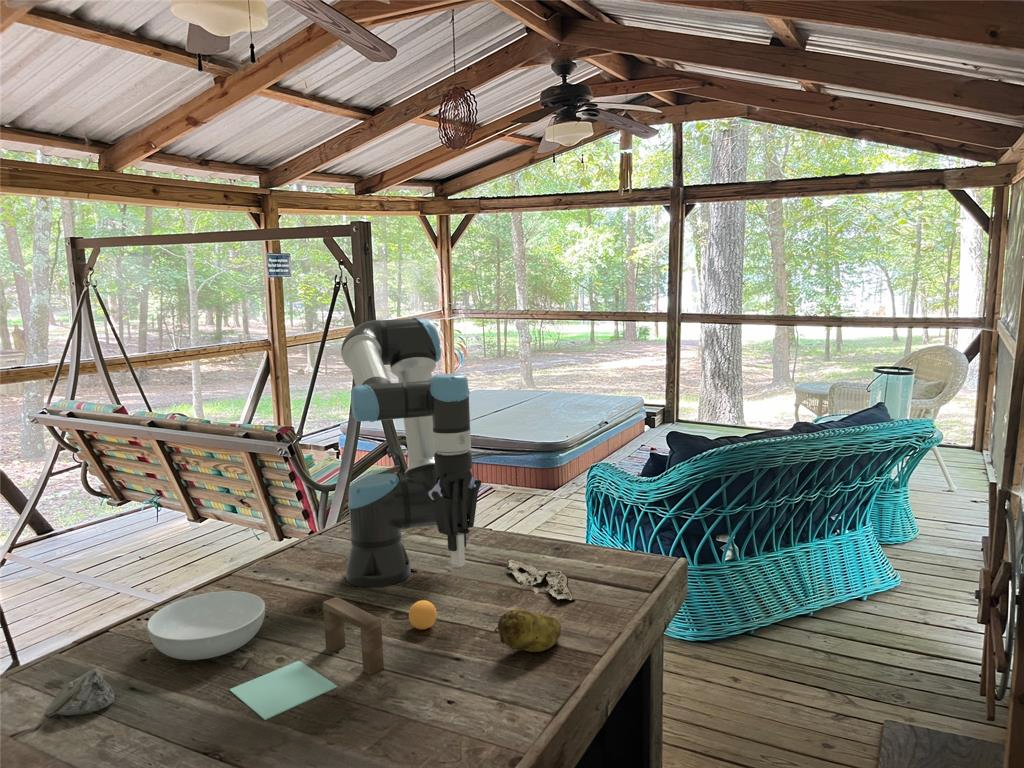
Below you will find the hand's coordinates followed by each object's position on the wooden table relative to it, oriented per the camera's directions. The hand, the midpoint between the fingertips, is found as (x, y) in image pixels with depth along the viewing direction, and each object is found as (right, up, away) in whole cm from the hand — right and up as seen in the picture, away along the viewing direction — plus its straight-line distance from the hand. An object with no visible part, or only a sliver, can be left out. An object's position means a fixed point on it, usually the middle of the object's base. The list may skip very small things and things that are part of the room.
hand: (458, 564), depth 151 cm
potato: (+15, -12, -15) cm, 24 cm away
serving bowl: (-47, -14, -9) cm, 50 cm away
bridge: (-18, -13, -16) cm, 27 cm away
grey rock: (-60, -17, -28) cm, 69 cm away
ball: (-7, -9, -5) cm, 12 cm away
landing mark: (-28, -15, -26) cm, 41 cm away
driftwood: (+17, -9, +16) cm, 25 cm away
